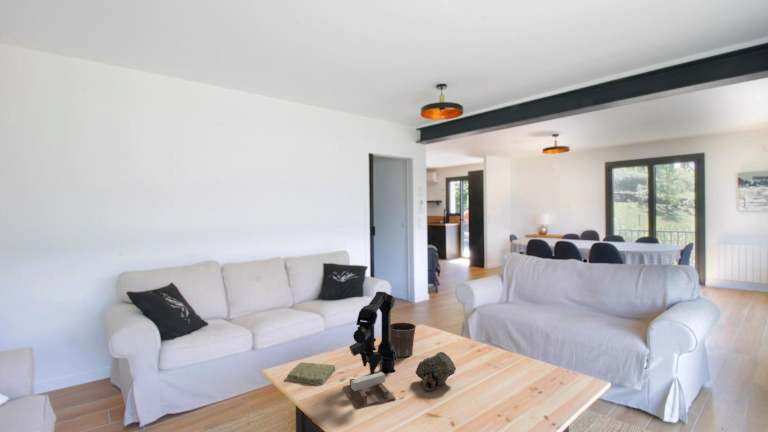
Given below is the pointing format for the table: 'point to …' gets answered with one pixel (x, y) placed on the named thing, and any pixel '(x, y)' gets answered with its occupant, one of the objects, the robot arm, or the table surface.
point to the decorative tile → (311, 373)
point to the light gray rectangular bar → (367, 381)
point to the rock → (435, 370)
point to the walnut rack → (369, 395)
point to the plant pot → (403, 338)
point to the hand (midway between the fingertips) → (368, 370)
